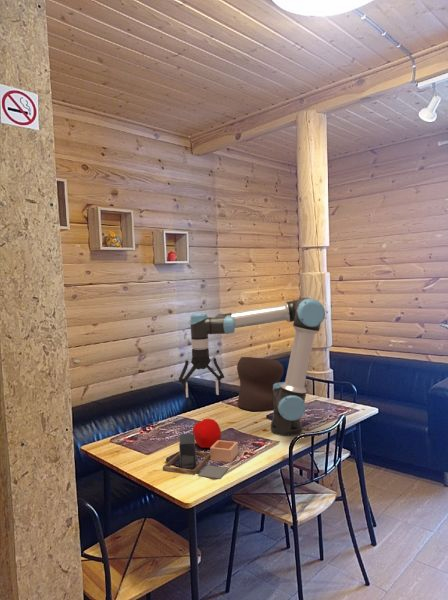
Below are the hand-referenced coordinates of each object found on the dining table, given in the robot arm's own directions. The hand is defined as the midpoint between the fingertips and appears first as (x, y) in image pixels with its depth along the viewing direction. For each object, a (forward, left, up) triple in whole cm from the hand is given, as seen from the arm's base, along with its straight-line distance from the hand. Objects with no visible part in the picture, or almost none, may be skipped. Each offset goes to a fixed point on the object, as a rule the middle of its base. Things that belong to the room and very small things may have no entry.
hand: (202, 395), depth 197 cm
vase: (-8, -64, -23) cm, 68 cm away
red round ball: (-1, 0, -23) cm, 23 cm away
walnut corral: (-1, +20, -22) cm, 30 cm away
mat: (-14, +25, -22) cm, 37 cm away
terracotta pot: (-13, +10, -22) cm, 28 cm away
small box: (-1, +20, -23) cm, 30 cm away
